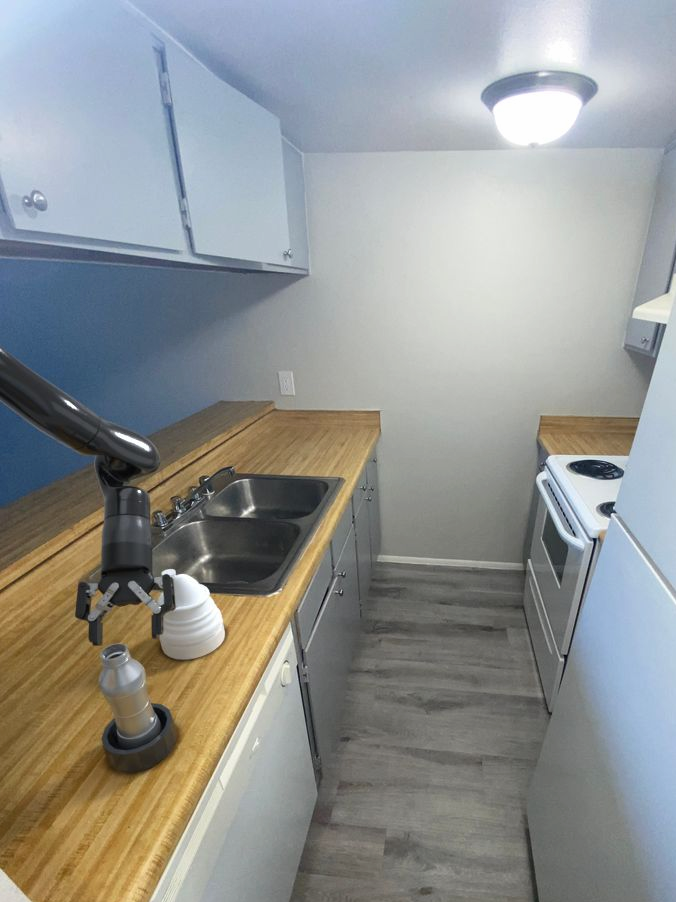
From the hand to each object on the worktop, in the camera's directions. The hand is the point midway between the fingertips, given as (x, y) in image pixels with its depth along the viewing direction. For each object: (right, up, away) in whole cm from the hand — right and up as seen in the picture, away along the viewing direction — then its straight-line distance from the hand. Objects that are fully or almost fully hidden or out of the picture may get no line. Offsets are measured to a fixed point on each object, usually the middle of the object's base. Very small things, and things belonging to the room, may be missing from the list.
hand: (127, 641), depth 76 cm
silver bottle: (+1, -18, +3) cm, 18 cm away
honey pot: (-1, -6, +28) cm, 28 cm away
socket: (+1, -18, +3) cm, 19 cm away
